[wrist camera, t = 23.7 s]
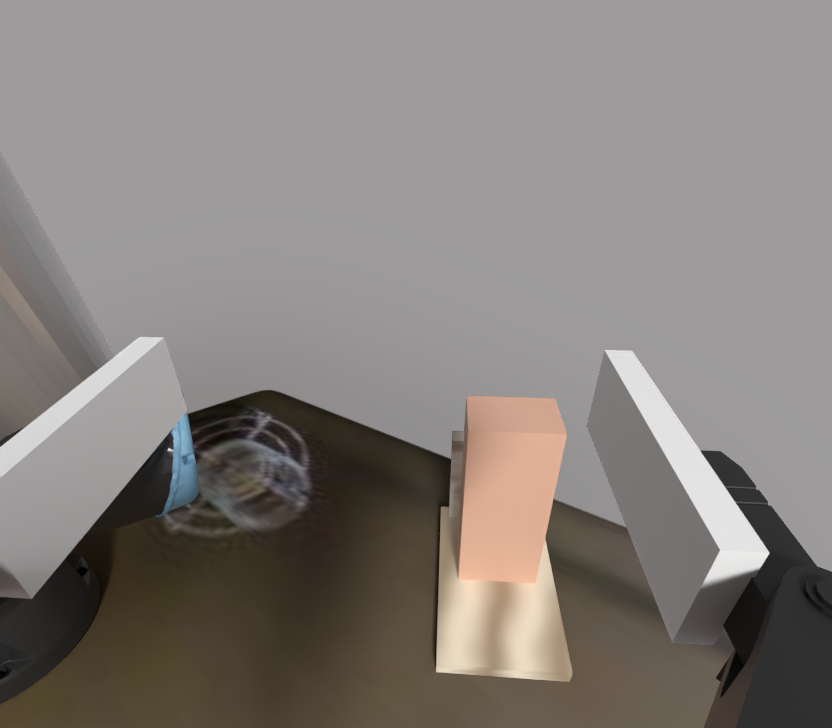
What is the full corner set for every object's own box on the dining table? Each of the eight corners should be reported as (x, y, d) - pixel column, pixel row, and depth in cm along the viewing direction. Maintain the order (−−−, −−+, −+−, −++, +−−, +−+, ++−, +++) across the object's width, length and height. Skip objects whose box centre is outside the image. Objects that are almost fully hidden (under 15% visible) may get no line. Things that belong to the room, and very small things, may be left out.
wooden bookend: (435, 671, 42) (438, 581, 35) (440, 514, 57) (443, 430, 50) (569, 681, 41) (600, 591, 34) (538, 520, 56) (554, 435, 49)
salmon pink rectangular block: (458, 579, 48) (468, 430, 38) (457, 539, 52) (466, 395, 42) (535, 583, 47) (566, 434, 37) (528, 542, 52) (555, 398, 41)
